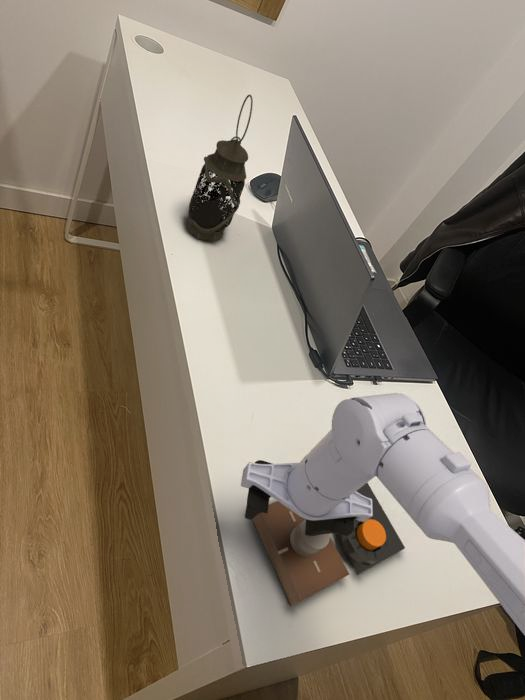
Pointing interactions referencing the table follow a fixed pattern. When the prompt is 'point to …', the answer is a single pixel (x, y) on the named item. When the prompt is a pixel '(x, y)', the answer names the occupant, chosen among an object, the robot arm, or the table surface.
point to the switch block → (369, 558)
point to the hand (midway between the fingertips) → (278, 519)
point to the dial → (307, 541)
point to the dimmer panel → (297, 555)
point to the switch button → (371, 534)
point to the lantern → (226, 166)
